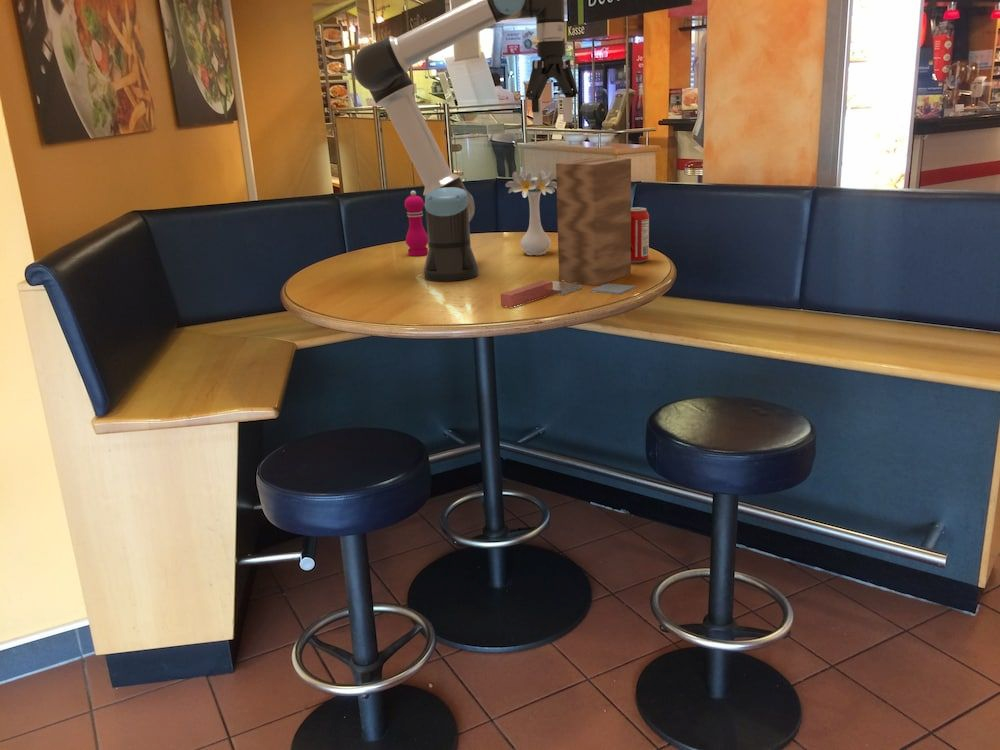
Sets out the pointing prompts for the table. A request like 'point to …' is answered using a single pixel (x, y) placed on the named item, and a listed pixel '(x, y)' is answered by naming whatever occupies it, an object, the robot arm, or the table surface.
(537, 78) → the robot arm
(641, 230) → the soda can
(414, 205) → the pepper mill
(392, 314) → the table surface
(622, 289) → the tile
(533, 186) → the flower vase
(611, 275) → the stand
